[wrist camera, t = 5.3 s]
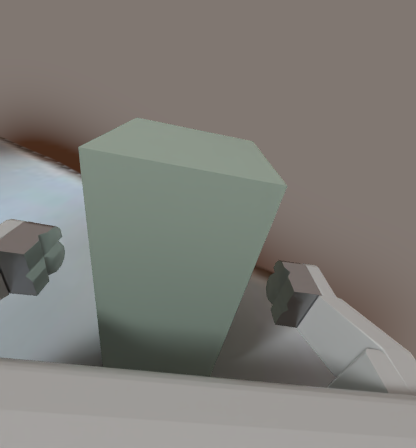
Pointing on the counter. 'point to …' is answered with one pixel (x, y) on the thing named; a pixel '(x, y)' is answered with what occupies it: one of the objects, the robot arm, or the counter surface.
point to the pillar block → (172, 240)
